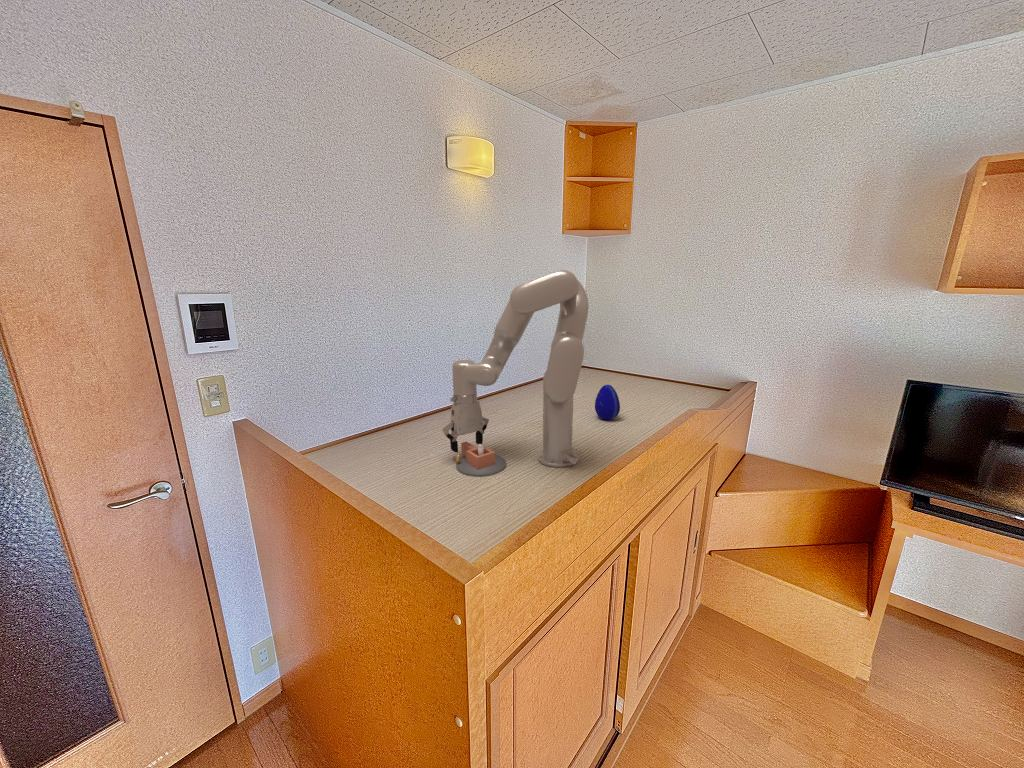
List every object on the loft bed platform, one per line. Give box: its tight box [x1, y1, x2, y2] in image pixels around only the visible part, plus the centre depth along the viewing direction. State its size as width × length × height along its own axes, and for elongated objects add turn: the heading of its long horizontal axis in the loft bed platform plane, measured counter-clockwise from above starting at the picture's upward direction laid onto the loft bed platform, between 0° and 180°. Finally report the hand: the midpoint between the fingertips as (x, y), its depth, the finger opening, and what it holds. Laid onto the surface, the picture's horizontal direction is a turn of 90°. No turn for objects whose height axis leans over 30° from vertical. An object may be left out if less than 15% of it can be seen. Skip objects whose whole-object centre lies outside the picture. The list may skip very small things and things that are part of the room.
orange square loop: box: [460, 441, 496, 470], centre depth 134 cm, size 14×7×4 cm, turn 38°
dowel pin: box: [455, 453, 461, 464], centre depth 131 cm, size 1×1×3 cm
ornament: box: [594, 384, 621, 420], centre depth 173 cm, size 11×9×15 cm
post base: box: [455, 443, 507, 478], centre depth 131 cm, size 16×16×7 cm
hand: (467, 447), depth 138 cm, fingers open, 9 cm apart
